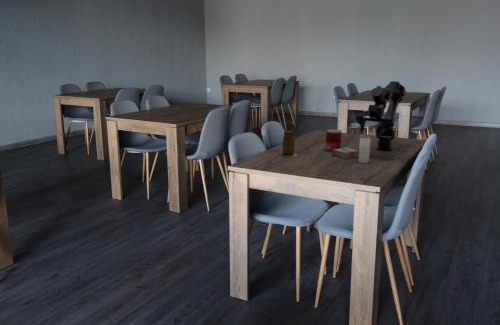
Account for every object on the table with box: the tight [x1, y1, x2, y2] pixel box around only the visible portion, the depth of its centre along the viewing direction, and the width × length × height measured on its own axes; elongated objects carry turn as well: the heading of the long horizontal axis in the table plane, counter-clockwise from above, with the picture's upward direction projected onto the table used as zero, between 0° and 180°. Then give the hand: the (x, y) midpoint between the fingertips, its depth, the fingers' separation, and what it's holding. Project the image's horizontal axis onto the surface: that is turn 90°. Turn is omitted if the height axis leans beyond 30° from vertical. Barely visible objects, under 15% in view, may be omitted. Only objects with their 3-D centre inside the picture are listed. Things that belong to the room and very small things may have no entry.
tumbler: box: [358, 134, 372, 164], centre depth 224 cm, size 5×5×13 cm
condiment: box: [279, 130, 299, 157], centre depth 237 cm, size 7×8×12 cm
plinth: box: [331, 147, 359, 160], centre depth 236 cm, size 10×10×3 cm
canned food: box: [325, 128, 342, 153], centre depth 248 cm, size 8×8×11 cm
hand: (370, 133), depth 228 cm, fingers open, 9 cm apart
